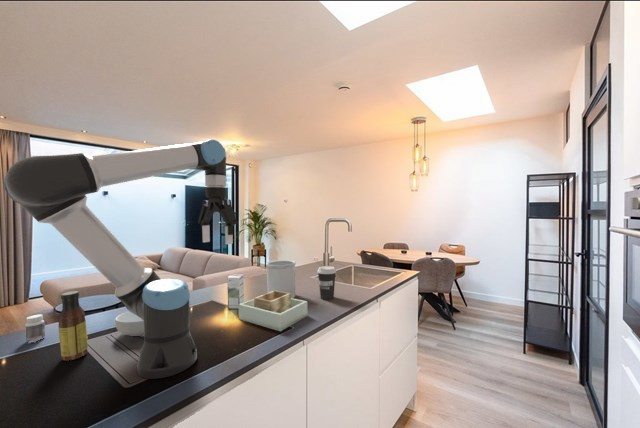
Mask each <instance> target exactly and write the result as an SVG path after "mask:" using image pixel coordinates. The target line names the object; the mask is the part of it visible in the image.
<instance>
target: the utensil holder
mask: <svg viewBox="0 0 640 428" xmlns="http://www.w3.org/2000/svg"><path fill="white" fill-rule="evenodd" d="M265 267H266V281H267V282H266V284H267V285H266V286H267V293H269V292H272V291H274V290H275V291H280V292H286V293H291V298H293V299H295V297H296V261H295V260H291V259H279V260H271V261H270V260H269V261H268V262H265Z"/></svg>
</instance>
